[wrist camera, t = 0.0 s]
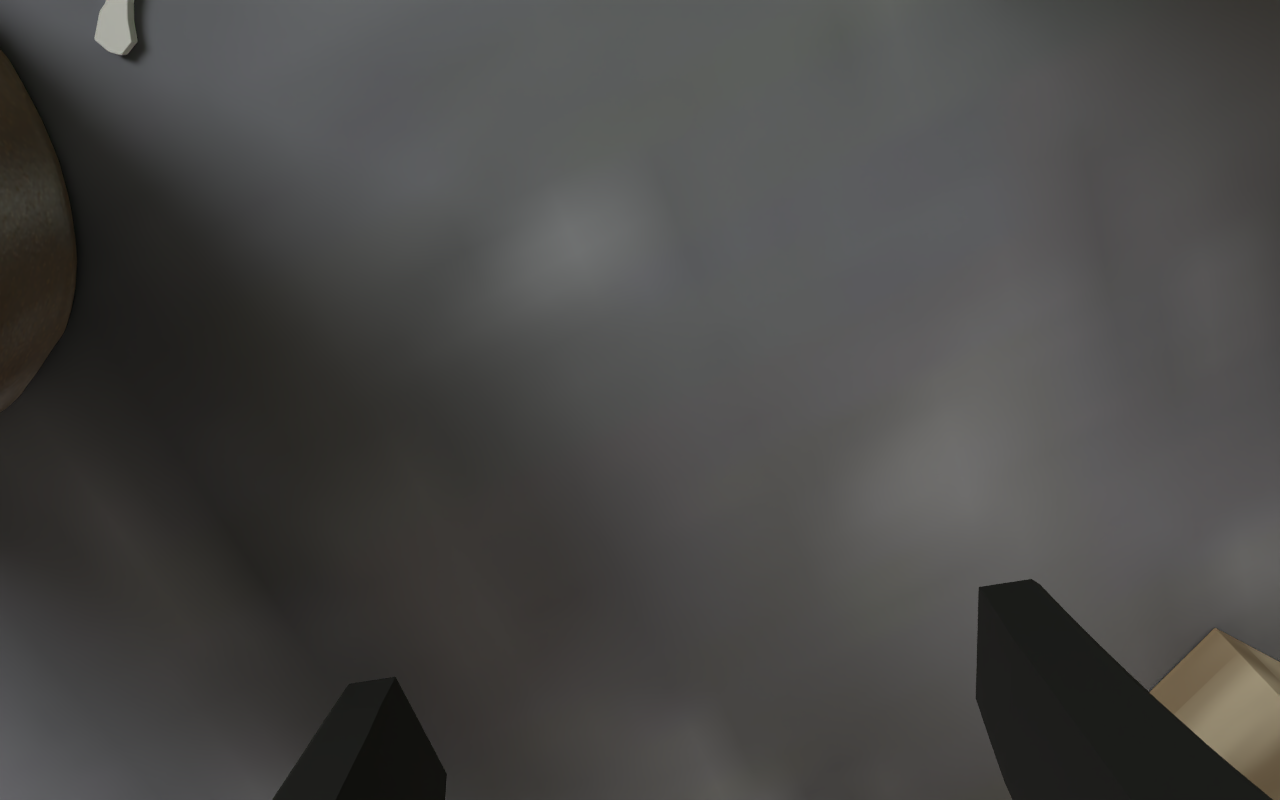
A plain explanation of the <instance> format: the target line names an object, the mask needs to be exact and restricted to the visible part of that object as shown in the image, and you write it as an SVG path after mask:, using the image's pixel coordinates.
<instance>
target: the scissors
mask: <svg viewBox="0 0 1280 800" xmlns="http://www.w3.org/2000/svg"><path fill="white" fill-rule="evenodd" d="M94 39H95V40H96V41H97V42H98V43H99V44H100V45H102V46H103V47H104V48H105V49H106V50H107V51H109V52H112V53H115V54H119V55H127V54H128V53H129V52H130V50H131V49H132V48H133V47H134V46H135V44H136V43H137V42H138V41H137V34H136V28H135V23H134V0H106V3H105V5H104V6H103V8H102V9H101V11H100V12H99V18H98V24H97V29H96V33H95V38H94Z"/></svg>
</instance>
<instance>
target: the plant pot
mask: <svg viewBox="0 0 1280 800" xmlns="http://www.w3.org/2000/svg"><path fill="white" fill-rule="evenodd" d="M76 270H77V252H76V240H75V232H74V225H73V218H72V212H71V206H70V201H69V197H68V193H67V189H66V185H65V182H64V178H63V174H62V170H61V167H60V163H59V160H58V158H57V155H56V153H55V150H54V148H53V145H52V143H51V141H50V138H49V136H48V133H47V131H46V129H45V126H44V124H43V122H42V120H41V118H40V116H39V114H38V112H37V110H36V108H35V106H34V104H33V102H32V100H31V98H30V96H29V95H28V93H27V91H26V89H25V87H24V85H23V83H22V82H21V80H20V78H19V76H18V75H17V73H16V71H15V69H14V68H13V66H12V64H11V62H10V61H9V59H8V58H7V57H6V56H5V54H4V53H3V52H2V51H1V49H0V412H2V411H3V410H5V409H6V408H7V407H8V406H10V405H11V404H12V403H13V402H14V401H15V400H16V399H17V398H18V397H19V396H20V395H21V394H22V392H23V391H24V389H25V388H26V387H27V385H28V384H29V383H30V381H31V380H32V379H33V377H34V376H35V375H36V373H37V372H38V371H39V369H40V367H41V366H42V364H43V363H44V361H45V360H46V358H47V356H48V355H49V353H50V352H51V350H52V349H53V347H54V346H55V345H56V343H57V342H58V340H59V339H60V338H61V336H62V335H63V333H64V331H65V329H66V325H67V322H68V319H69V316H70V312H71V309H72V304H73V298H74V292H75V286H76Z"/></svg>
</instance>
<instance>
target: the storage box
mask: <svg viewBox="0 0 1280 800" xmlns="http://www.w3.org/2000/svg"><path fill="white" fill-rule="evenodd" d="M1149 693H1150V694H1152V695H1153V696H1154V697H1155V698H1156V699H1157V700H1158V701H1159V702H1160V703H1162V704H1163V705H1164V706H1165V707H1166V708H1167V709H1168V710H1169V711H1170V712H1172V713H1173V714H1174V715H1175V716H1176V717H1177V718H1178V719H1179V720H1180V721H1182V722H1183V723H1184V724H1185V725H1186V726H1187V727H1188V728H1189V729H1190V730H1192V731H1193V732H1194V733H1195V734H1196V735H1197V736H1198V737H1199V738H1201V739H1202V740H1203V741H1204V742H1205V743H1206V744H1207V745H1208V746H1210V747H1211V748H1212V749H1213V750H1214V751H1215V752H1217V753H1218V754H1219V755H1220V756H1221V757H1222V758H1224V759H1225V760H1226V761H1227V762H1228V763H1229V764H1231V765H1232V766H1233V767H1234V768H1235V769H1236V770H1238V771H1239V772H1240V773H1241V774H1242V775H1244V776H1245V777H1246V778H1247V779H1249V780H1250V781H1251V782H1252V783H1253V784H1255V785H1256V786H1257V787H1258V788H1259V789H1261V790H1262V791H1263V792H1264V793H1265V794H1267V795H1268V796H1269V797H1270V798H1272V799H1273V800H1280V662H1279V661H1277V660H1275V659H1273V658H1271V657H1269V656H1267V655H1266V654H1264V653H1262V652H1260V651H1258V650H1256V649H1254V648H1252V647H1250V646H1249V645H1247V644H1245V643H1243V642H1241V641H1239V640H1237V639H1235V638H1233V637H1232V636H1230V635H1228V634H1226V633H1224V632H1222V631H1220V630H1218V629H1217V628H1214V629H1213V630H1212V631H1211V632H1210V633H1209V634H1208V635H1207V636H1206V637H1205V638H1204V639H1203V640H1202V641H1201V642H1200V643H1199V644H1198V645H1197V646H1196V647H1195V648H1194V649H1193V650H1192V651H1191V652H1190V653H1189V654H1188V655H1187V656H1186V657H1185V658H1184V659H1183V660H1182V661H1181V662H1180V663H1179V664H1178V665H1177V666H1176V667H1175V668H1174V669H1173V670H1172V671H1171V672H1170V673H1169V674H1168V675H1167V676H1166V677H1165V678H1164V679H1163V680H1161V681H1160V682H1159V683H1158V684H1157V685H1156V686H1155V687H1154V688H1153V689H1152V690H1151V691H1150V692H1149Z"/></svg>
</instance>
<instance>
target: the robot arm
mask: <svg viewBox="0 0 1280 800" xmlns="http://www.w3.org/2000/svg"><path fill="white" fill-rule="evenodd" d="M976 700H977V703H978V706H979V709H980V712H981V715H982V718H983V721H984V724H985V727H986V730H987V733H988V736H989V739H990V742H991V745H992V747H993V750H994V753H995V756H996V759H997V761H998V764H999V767H1000V770H1001V773H1002V776H1003V778H1004V781H1005V784H1006V786H1007V788H1008V790H1009V792H1010V795H1011V797H1012V799H1013V800H1273V799H1272V798H1270V797H1269V796H1268V795H1267V794H1265V793H1264V792H1263V791H1262V790H1261V789H1259V788H1258V787H1257V786H1256V785H1255V784H1253V783H1252V782H1251V781H1250V780H1249V779H1247V778H1246V777H1245V776H1244V775H1242V774H1241V773H1240V772H1239V771H1238V770H1236V769H1235V768H1234V767H1233V766H1232V765H1231V764H1229V763H1228V762H1227V761H1226V760H1225V759H1224V758H1222V757H1221V756H1220V755H1219V754H1218V753H1217V752H1215V751H1214V750H1213V749H1212V748H1211V747H1210V746H1208V745H1207V744H1206V743H1205V742H1204V741H1203V740H1202V739H1201V738H1199V737H1198V736H1197V735H1196V734H1195V733H1194V732H1193V731H1192V730H1190V729H1189V728H1188V727H1187V726H1186V725H1185V724H1184V723H1183V722H1182V721H1180V720H1179V719H1178V718H1177V717H1176V716H1175V715H1174V714H1173V713H1172V712H1170V711H1169V710H1168V709H1167V708H1166V707H1165V706H1164V705H1163V704H1162V703H1160V702H1159V701H1158V700H1157V699H1156V698H1155V697H1154V696H1153V695H1152V694H1150V693H1149V692H1148V691H1147V690H1146V689H1145V688H1144V687H1143V686H1142V685H1141V684H1140V683H1139V682H1138V681H1137V680H1135V679H1134V678H1133V677H1132V676H1131V675H1130V674H1129V673H1128V672H1127V671H1126V670H1125V669H1124V668H1123V667H1122V666H1121V665H1120V664H1119V663H1118V662H1117V661H1116V660H1115V659H1113V658H1112V657H1111V656H1110V655H1109V654H1108V653H1107V652H1106V651H1105V650H1104V649H1103V648H1102V647H1101V646H1100V645H1099V644H1098V643H1097V642H1096V641H1095V640H1094V639H1093V638H1092V637H1091V636H1090V635H1089V634H1088V633H1087V632H1086V631H1085V630H1084V629H1083V628H1082V627H1081V626H1080V625H1079V624H1078V623H1077V622H1076V621H1075V620H1074V619H1073V618H1072V617H1071V616H1070V615H1069V614H1068V613H1067V612H1066V611H1065V610H1064V609H1063V608H1062V607H1061V606H1060V605H1059V604H1058V603H1057V602H1056V601H1055V600H1054V599H1053V598H1052V597H1051V596H1050V595H1049V594H1048V592H1047V591H1046V590H1045V589H1044V588H1043V587H1042V586H1041V585H1040V584H1038V583H1037V582H1035V581H1034V580H1032V579H1029V580H1022V581H1016V582H1009V583H1003V584H996V585H990V586H983V587H979V600H978V637H977V674H976ZM446 776H447V774H446V772H445V770H444V768H443V766H442V764H441V762H440V760H439V759H438V757H437V755H436V753H435V751H434V749H433V747H432V745H431V743H430V741H429V740H428V738H427V736H426V734H425V732H424V730H423V728H422V726H421V724H420V722H419V721H418V719H417V717H416V715H415V713H414V711H413V709H412V707H411V705H410V704H409V702H408V700H407V698H406V696H405V694H404V692H403V690H402V688H401V686H400V685H399V683H398V681H397V679H396V677H392V678H385V679H379V680H372V681H366V682H359V683H353V684H349V685H348V687H347V688H346V689H345V691H344V692H343V694H342V695H341V697H340V698H339V700H338V701H337V703H336V704H335V706H334V707H333V708H332V710H331V711H330V713H329V715H328V716H327V718H326V719H325V721H324V722H323V724H322V725H321V727H320V728H319V730H318V731H317V733H316V734H315V736H314V737H313V739H312V740H311V742H310V743H309V745H308V747H307V748H306V750H305V751H304V753H303V754H302V756H301V757H300V759H299V760H298V762H297V763H296V765H295V766H294V768H293V769H292V771H291V772H290V774H289V775H288V777H287V778H286V780H285V781H284V783H283V784H282V786H281V787H280V789H279V791H278V792H277V794H276V795H275V797H274V798H273V800H445V792H446Z"/></svg>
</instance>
